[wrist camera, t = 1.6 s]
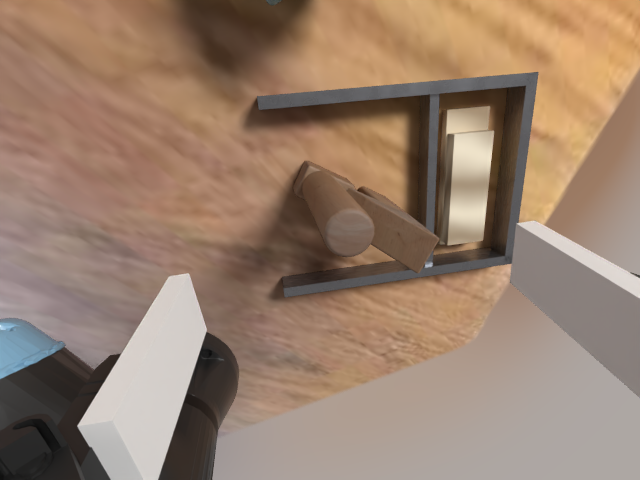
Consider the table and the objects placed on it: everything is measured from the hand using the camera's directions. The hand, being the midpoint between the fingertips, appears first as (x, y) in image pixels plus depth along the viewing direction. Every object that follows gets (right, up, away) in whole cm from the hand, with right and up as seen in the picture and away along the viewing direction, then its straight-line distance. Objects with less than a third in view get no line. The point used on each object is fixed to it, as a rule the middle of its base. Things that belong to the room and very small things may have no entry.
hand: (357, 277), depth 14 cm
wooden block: (+1, +7, +27) cm, 28 cm away
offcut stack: (+15, +9, +29) cm, 34 cm away
